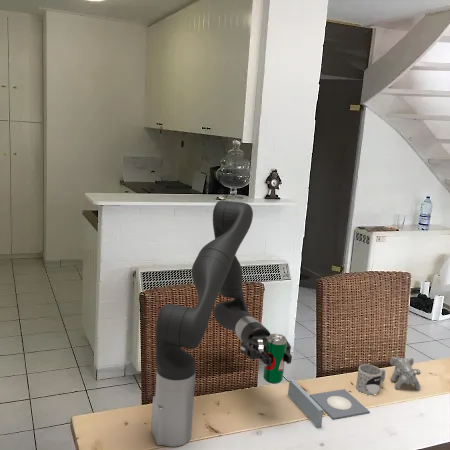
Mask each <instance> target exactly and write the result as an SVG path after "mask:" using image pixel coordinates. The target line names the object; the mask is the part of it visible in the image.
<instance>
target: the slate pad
mask: <svg viewBox="0 0 450 450" xmlns="http://www.w3.org/2000/svg"><path fill="white" fill-rule="evenodd" d="M309 396H310V397H311V398H312V399H313V400H314V401H315V402H316V403H317V404H318V405H319V406H320V407H321V408H322V409H323V412H325V413H326V414H327V415H328V417H329V418H331V419H332V420H333V421H334V420H339V419H340V420H341V419H346V418H352V417H356V416H361V415H367V414H370V412H371V411H370V410H369V409H367V408H366V407H365V405H363V404H362V403H361V402H360V401H359V400H357V398H355V396H353V395H352V394H351V393H350V392H349V391H347V390H346V389H345V388H343V389H336V390H330V391H325V392H323V391H322V392H318V393H312V394H309Z"/></svg>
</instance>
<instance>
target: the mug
mask: <svg viewBox="0 0 450 450" xmlns="http://www.w3.org/2000/svg"><path fill="white" fill-rule="evenodd" d="M385 378H386V369H384V368H379V367H378V366H377V365H376V366H375V365H373V364H368V363H366V364H364V363H363V364H361V365H359V366H358V371H357V378H356V386H355V389H356V391H357V390H358V391H357V392H358V393H360V392H361V393H360V394H362V393H364V394H367V395H366V396H369V395H374V394H377V395H379V393H378V392H380V387H381V386H380V385H382V384H383V383H385ZM364 394H363V395H364ZM374 396H375V395H374Z"/></svg>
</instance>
